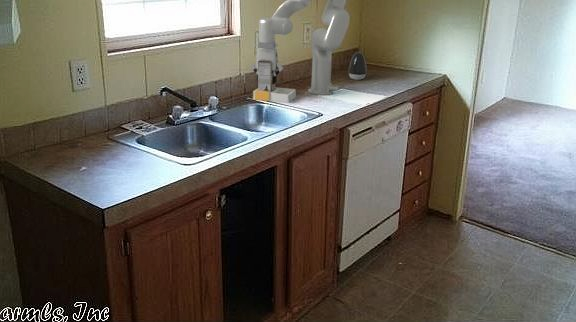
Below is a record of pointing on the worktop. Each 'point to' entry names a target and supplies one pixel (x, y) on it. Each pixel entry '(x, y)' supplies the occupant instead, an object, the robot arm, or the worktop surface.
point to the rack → (275, 95)
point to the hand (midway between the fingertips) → (266, 82)
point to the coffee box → (265, 76)
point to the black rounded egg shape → (357, 67)
